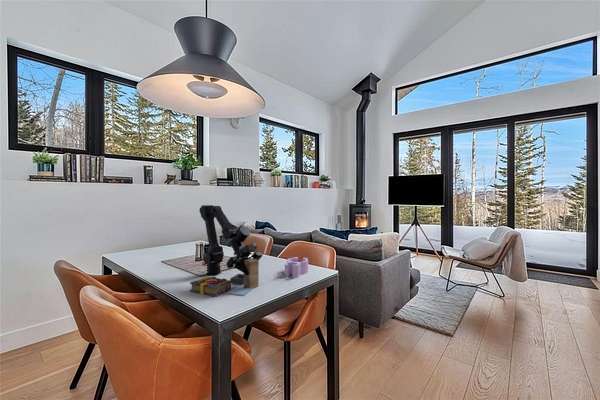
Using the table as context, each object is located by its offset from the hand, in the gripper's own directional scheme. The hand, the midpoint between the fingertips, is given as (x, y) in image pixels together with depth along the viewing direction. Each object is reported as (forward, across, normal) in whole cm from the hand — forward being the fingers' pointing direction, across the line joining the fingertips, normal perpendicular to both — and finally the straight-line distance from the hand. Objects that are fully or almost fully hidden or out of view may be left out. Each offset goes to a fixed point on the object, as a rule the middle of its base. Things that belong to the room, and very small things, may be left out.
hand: (252, 273), depth 130 cm
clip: (+4, +33, +6) cm, 33 cm away
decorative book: (-3, -15, +13) cm, 20 cm away
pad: (+5, -8, +4) cm, 10 cm away
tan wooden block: (+4, 0, +6) cm, 7 cm away
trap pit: (-4, +2, +13) cm, 14 cm away
